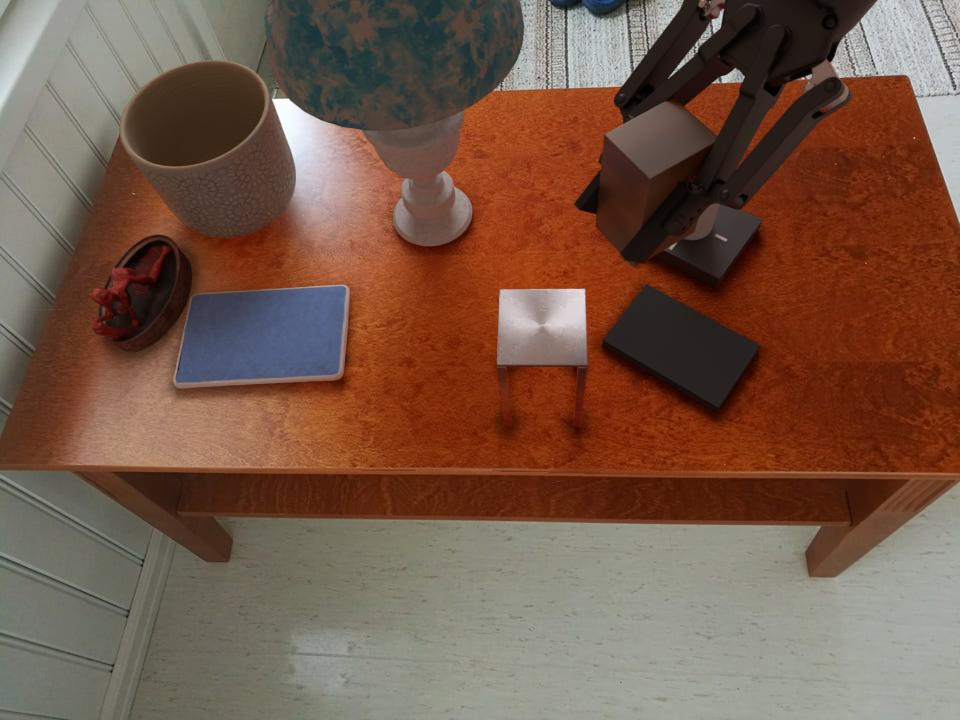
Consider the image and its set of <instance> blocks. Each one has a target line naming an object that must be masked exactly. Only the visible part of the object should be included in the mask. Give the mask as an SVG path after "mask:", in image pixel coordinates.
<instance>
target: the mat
mask: <svg viewBox="0 0 960 720" xmlns="http://www.w3.org/2000/svg"><path fill="white" fill-rule="evenodd" d="M601 346H603V347H604V348H606V349H608V350H609V351H611V352H612V353H614V354H616V355H618V356H619V357H621V358H622V359H624V360H626V361H628V362H630V363H632V364H634V366H636V367H638V368H640V369H641V370H643V371H645V372H646V373H648V374H650V375H651V376H653V377H655V378H657V379H659V380H660V381H662V382H663V383H666V384H667V385H669V386H670V387H672V388H674V389H675V390H677V391H679V392H680V393H683V394H684V395H685V396H688V397H689V398H691V399H692V400H694V401H696V402H698V403H699V404H701V405H703V407H706V408H707V409H710V410H711V411H713V412H714V413H717V412H718V411H719V410H720V408H721V407H722V405H723V404H724V403H725V400H726V399H727V398H728V397H729V395H730V393H731V392H732V390H733V388H734V387H735V386H736V384H737V383H738V381H739V380H740V379H741V377H742V375H743V374H744V373H745V371H746V369H747V368H748V367H749V365H750V363H751V362H752V360H753V358H755V356H756V354H757V353H758V351H759V349H760V347H761V345H760V344H759V343H757V342H755V341H753V340H751V339H750V338H748V337H746V336H744V335H742V334H740V333H738V332H737V331H734V330H733V329H731V328H729V327H727V326H725V325H723V324H722V323H720V322H718V321H716V320H714V319H712V318H711V317H710V316H709V317H708V316H707V315H705V314H703V313H701V312H700V311H698V310H696V309H694V308H693V307H691V306H688V305H687V304H685V303H683V302H681V301H679V300H677V299H675V298H673V297H672V296H670V295H669V294H667V293H665V292H663V291H661V290H659V289H657V288H656V287H653V286H651V285H649V284H648V283H646V284H645V285H644V286H643V287H642V289H641V290H640V291H639V293H638V294H637V295H636V296H635V298H634V299H633V301H631V303H630V304H629V305H628V307H627V308H626V309H625V311H624V312H623V313H622V315H621V316H620V317H619V319H618V320H617V321H616V322H615V324H614V325H613V326H612V327H611V329H610V330H609V332H608V333H607V334H606V335H605V336H604V338H603V339H602V343H601Z"/></svg>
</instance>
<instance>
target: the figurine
mask: <svg viewBox="0 0 960 720" xmlns="http://www.w3.org/2000/svg"><path fill="white" fill-rule="evenodd" d="M192 284H193V269H192V264H191V261H190V260H189V258H188V256H187V255H185V253H184V252H183V251H182V250H181V248H179V246H178V244H177V243H176V241H174V239H173V238H171V237H170V236H168V235H165V234H160V233H159V234H158V233H157V234H151V235H148V236H146V237H143V238H142V239H140V240H138V241H137V242H136V243H134V244H133V245H132V246H131V247H129V248H128V249H127V251H125V252H124V253H123V254H122V256H121V257H120V258H119V260H118V261H117V263H116V264H115V265H114V267H113V268H112V269H111V271H110V273H109V275H108V277H107V279H106V280H105V283H104V286H103V288H102V287H94V288H93V291H92V293H91V298H92V301H93V302H94V303H96V304H98V309H97V317H94V318H93V322H92V323H91V327H90V328H91V329H92V330H93V333H94V334H96V335H99V336H102V337H104V338H105V339H106V340H107V341H108V342H110V343H112V344H113V345H115V346H116V348H118V349H119V350H121V351H123V352H128V353H137V352H141V351H143V350H146V349H148V348H149V347H151V346H153V345H154V344H156V343H158V342H159V341H160V340H161V339H162V338H163V337H164V336H165V335H166V334H168V332H169V331H170V330H171V329H172V327H174V325H175V324H176V323H177V322H178V320H179V318H180V316H181V315H182V313H183V311H184V309H185V307H186V306H187V304H188V301H189V299H190V298H189V297H190V294H191V290H192Z"/></svg>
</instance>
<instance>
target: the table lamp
mask: <svg viewBox="0 0 960 720" xmlns="http://www.w3.org/2000/svg"><path fill="white" fill-rule="evenodd" d="M524 21H525V20H524V16H523V9H522V4H521V0H266V1H265V10H264V30H265V31H264V32H265V40H266V48H267V54H268V59H269V64H270V69H271V72H272V75H273V76H274V78H275V81H276V83H277V85H278V87H279V89H280V90H281V91H282V93H283V94H284V95H285V96H286V97H287V99H288V100H289V101H290V102H291V103H292V104H294V105H295V106H296V107H298V108H299V109H300V110H301V111H302V112H304V113H306V114H308V115H310V116H312V117H314V118H315V119H318V120H319V121H322V122H325V123H327V124H331V125H334V126H338V127H341V128H347V129H352V130H353V129H354V130H360V131H362V134H363V135H364V137H365V138H366V140H367V141H368V143H370V145H371V146H373V148H374V149H375V152H376V154H377V156H378V157H379V159H380V160H381V161H382V163H383V164H384V165H385V167H386V168H388V170H390V171H391V172H392V173H394V174H395V175H397V176H398V177H401V178H402V179H403V178H404V180H403V181H402V183H401V186H400V194H401V197H400V199H399V200H398V201H397V203H396V205H395V207H394V209H393V213H392V214H393V215H392V222H393V226H394V228H395V230H396V232H397V234H398V235H400V237H401V238H402V239H404V240H405V241H407V242H409V243H411V244H414V245H415V246H421V247H438V246H442V245H445V244H448V243H450V242H452V241H454V240H456V239H457V238H459V237H460V236H462V234H463V233H465V231H466V230H467V229H468V227H469V226H470V224H471V221H472V218H473V205H472V202H471V199H469V197H468V196H467V194H465V193H464V192H463V191H462V190H461V189H459V188H458V187H456V186H455V184H454V181H453V180H454V179H453V178H452V176H451V175H450V174H449V173H448V172H446V171H445V170H447V168H448V167H449V166H450V165H451V164H452V162H453V161H454V159H455V158H456V155H457V153H458V149H459V146H460V140H461V129H462V127H463V124H464V122H465V114H466V113H465V110H467V109H469V108H471V107H472V106H474V105H476V104H478V103H479V102H481V101H482V100H484V98H486V97H487V96H489V95H490V94H491V93H492V92H494V91H495V90H496V89H497V87H498V86H500V84H501V83H502V82H504V80H505V79H506V78H507V77H508V76H509V74H510V73H511V71H512V69H513V68H514V66H515V65H516V63H517V61H518V59H519V56H520V53H521V51H522V48H523V45H524V44H523V43H524V34H525V22H524Z"/></svg>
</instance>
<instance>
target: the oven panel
mask: <svg viewBox="0 0 960 720" xmlns="http://www.w3.org/2000/svg"><path fill="white" fill-rule="evenodd" d="M762 222H763V219H761V218H759V217H757V216H755V215H753V214H751V213H749V212H747V211H745V210H743V209H739V210H736V209H732V208H730V207H727V206H724V205H721V204H720V206H719V209H718V212H717V215H716V218H715V221H714V225H713V228H712V230H711V232H710V233H709V234H708V235H707V236H706V237H704V238H702V239H698V240H686V239H682V240H680V241H679V242H677V243H675V244H673V245H672V246H670V247H668V248H667V249H665V250H663V251H662V252H660V253H658V254H656V255H655V256H653V257H654V258H656V259H658V260H660V261H662V262H664V263H666V264H667V265H670V266H671V267H673V268H675V269H678V270H679V271H681V272H683V273H685V274H687V275H689V276H691V277H692V278H695V279H696V280H698V281H700V282H702V283H704V284H706V285H708V286H710V287H711V288H714V289H716V290H717V288H718V287H719V286H720V284H721V283H722V282H723V280H724V279H725V277H726V276H727V275H728V273H729V272H730V271H731V269H732V268H733V266H734V265H735V263H736V262H737V261H738V259H739V258H740V257H741V255H742V254H743V253H744V251H745V250H746V249H747V247H748V246H749V244H750V243H751V242H752V240H753V239H754V237H755V236H756V235H757V233H758V232H759V230H760V227H761V225H762Z"/></svg>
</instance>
